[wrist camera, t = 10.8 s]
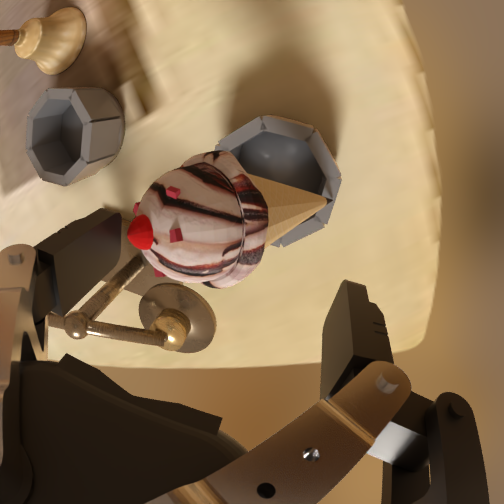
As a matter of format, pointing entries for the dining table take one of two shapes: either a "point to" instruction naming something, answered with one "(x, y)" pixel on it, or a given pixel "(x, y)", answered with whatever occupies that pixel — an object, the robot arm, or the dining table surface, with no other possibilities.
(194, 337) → the balance
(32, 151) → the cup
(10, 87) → the dining table surface
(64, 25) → the hand bell
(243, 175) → the ice cream cone
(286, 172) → the cup
